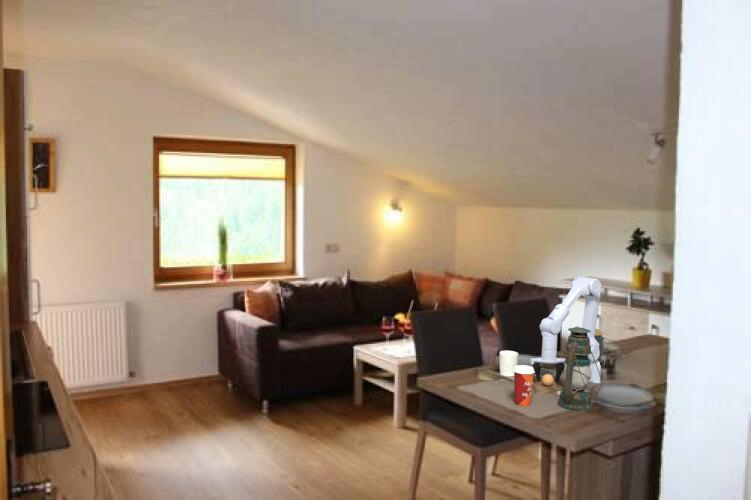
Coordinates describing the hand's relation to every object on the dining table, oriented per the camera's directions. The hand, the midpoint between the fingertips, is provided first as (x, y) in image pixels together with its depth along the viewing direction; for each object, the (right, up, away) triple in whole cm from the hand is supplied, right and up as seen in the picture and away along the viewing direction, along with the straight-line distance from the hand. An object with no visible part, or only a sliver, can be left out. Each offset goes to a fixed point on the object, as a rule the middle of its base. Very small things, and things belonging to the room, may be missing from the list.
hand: (547, 381), depth 267 cm
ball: (0, -2, 0) cm, 2 cm away
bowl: (0, -2, +13) cm, 13 cm away
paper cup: (-14, -5, -19) cm, 24 cm away
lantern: (+6, -5, -20) cm, 22 cm away
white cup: (-13, -1, +17) cm, 21 cm away
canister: (+30, +1, +41) cm, 51 cm away
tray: (0, -3, 0) cm, 3 cm away
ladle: (+8, -4, -6) cm, 11 cm away
